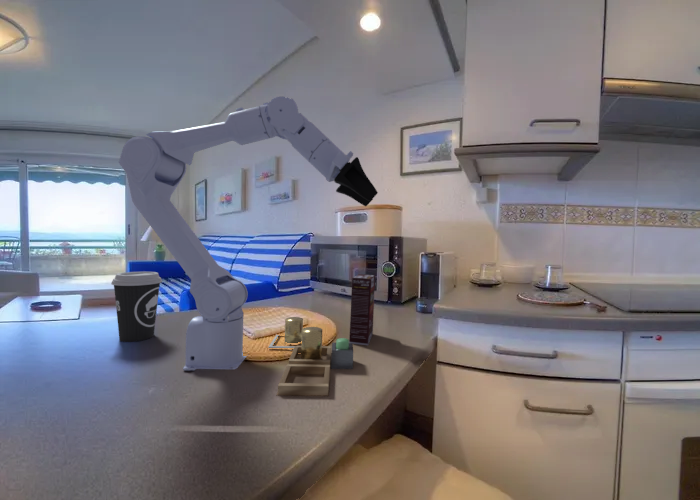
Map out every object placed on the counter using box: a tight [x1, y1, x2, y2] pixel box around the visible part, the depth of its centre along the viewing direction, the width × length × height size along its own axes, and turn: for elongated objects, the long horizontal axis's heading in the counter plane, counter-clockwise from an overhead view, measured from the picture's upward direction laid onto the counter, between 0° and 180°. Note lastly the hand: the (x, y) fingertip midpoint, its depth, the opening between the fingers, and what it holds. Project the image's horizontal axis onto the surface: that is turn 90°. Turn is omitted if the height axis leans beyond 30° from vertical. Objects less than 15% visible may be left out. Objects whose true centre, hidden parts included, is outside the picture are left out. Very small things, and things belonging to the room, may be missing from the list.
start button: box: [335, 337, 349, 349], centre depth 55 cm, size 2×2×4 cm
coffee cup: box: [111, 271, 163, 343], centre depth 67 cm, size 10×10×15 cm
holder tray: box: [276, 345, 332, 397], centre depth 52 cm, size 8×17×2 cm, turn 2°
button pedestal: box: [331, 342, 354, 370], centre depth 55 cm, size 4×4×4 cm
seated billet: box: [300, 326, 323, 360], centre depth 56 cm, size 4×4×6 cm
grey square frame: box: [267, 334, 295, 349], centre depth 66 cm, size 9×9×1 cm
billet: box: [284, 316, 304, 343], centre depth 66 cm, size 4×4×6 cm
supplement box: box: [348, 273, 376, 346], centre depth 70 cm, size 9×5×16 cm, turn 168°
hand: (371, 200), depth 55 cm, fingers open, 7 cm apart
